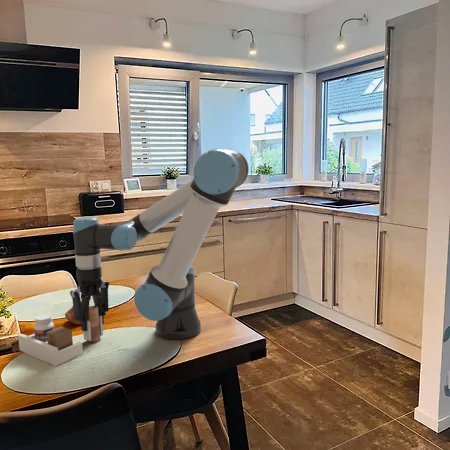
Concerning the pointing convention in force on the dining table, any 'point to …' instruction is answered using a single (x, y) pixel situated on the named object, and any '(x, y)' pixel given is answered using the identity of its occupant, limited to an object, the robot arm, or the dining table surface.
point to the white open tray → (48, 350)
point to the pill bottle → (43, 327)
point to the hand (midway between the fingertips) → (93, 336)
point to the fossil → (71, 316)
